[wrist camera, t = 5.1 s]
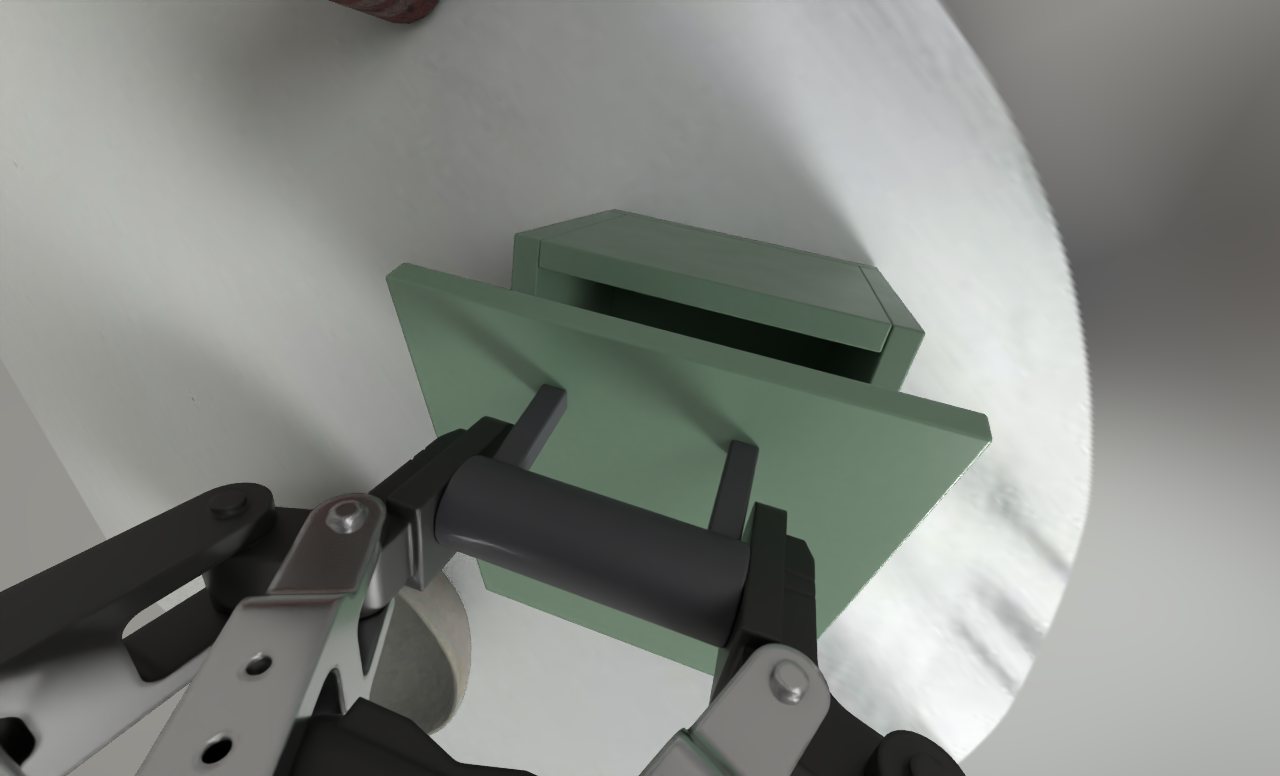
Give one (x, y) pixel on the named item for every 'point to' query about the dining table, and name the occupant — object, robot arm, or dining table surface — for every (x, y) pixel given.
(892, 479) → the lid
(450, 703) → the bowl
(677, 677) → the dining table surface
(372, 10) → the can
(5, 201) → the dining table surface
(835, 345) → the chest
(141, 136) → the dining table surface
